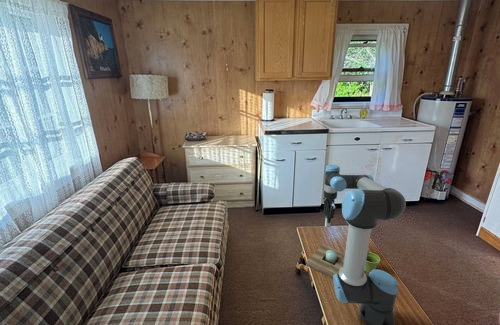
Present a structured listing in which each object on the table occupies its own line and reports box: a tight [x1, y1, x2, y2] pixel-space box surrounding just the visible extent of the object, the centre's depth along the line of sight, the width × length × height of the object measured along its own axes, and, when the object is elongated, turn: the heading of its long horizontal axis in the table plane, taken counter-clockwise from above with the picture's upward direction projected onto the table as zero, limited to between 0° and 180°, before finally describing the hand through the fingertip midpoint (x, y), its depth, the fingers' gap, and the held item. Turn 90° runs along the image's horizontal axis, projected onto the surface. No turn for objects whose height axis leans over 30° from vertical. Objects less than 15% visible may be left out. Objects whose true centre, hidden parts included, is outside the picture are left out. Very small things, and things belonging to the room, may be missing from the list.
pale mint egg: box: [325, 250, 337, 265], centre depth 156 cm, size 6×6×5 cm
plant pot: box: [364, 251, 381, 274], centre depth 152 cm, size 9×9×9 cm
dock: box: [306, 243, 345, 279], centre depth 157 cm, size 20×20×4 cm
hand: (327, 226), depth 162 cm, fingers closed
